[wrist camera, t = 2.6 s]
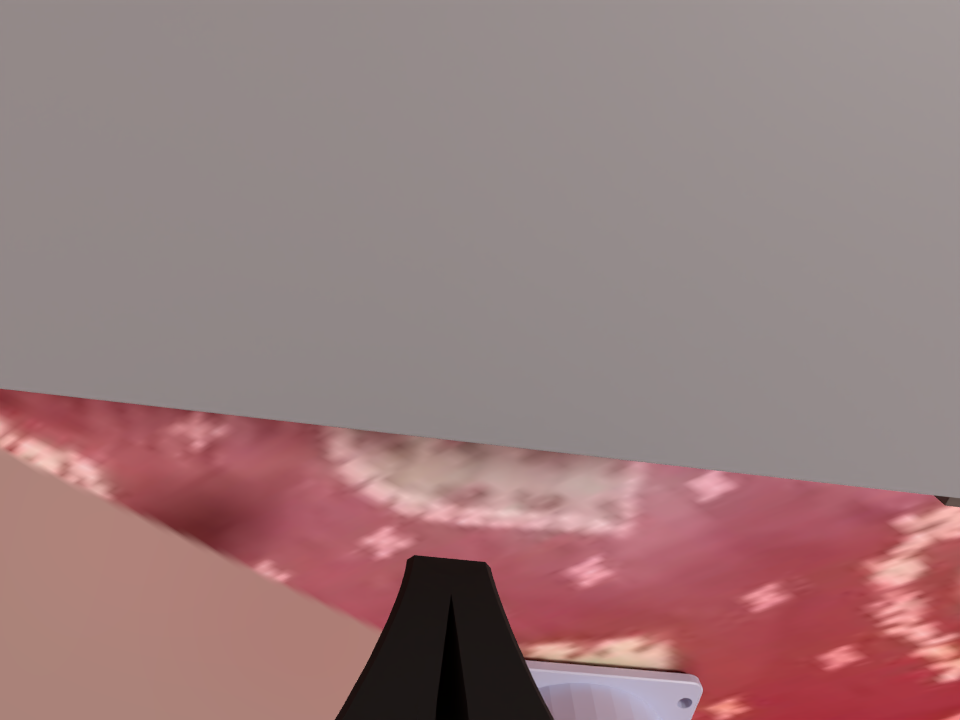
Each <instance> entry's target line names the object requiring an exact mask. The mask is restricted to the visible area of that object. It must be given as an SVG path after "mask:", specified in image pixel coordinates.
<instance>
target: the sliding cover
mask: <svg viewBox="0 0 960 720" xmlns="http://www.w3.org/2000/svg"><path fill="white" fill-rule="evenodd" d="M0 389H8V390H17V391H26V392H35V393H43V394H52V395H61V396H70V397H78V398H87V399H96V400H105V401H113V402H122V403H131V404H140V405H148V406H157V407H166V408H175V409H183V410H192V411H201V412H210V413H218V414H227V415H236V416H245V417H253V418H262V419H271V420H280V421H288V422H297V423H306V424H315V425H323V426H332V427H341V428H350V429H358V430H367V431H376V432H385V433H393V434H402V435H411V436H420V437H428V438H437V439H446V440H455V441H463V442H472V443H481V444H490V445H498V446H507V447H516V448H525V449H533V450H542V451H551V452H560V453H568V454H577V455H586V456H595V457H603V458H612V459H621V460H630V461H638V462H647V463H656V464H665V465H673V466H682V467H691V468H700V469H708V470H717V471H726V472H735V473H743V474H752V475H761V476H770V477H778V478H787V479H796V480H805V481H813V482H822V483H831V484H840V485H848V486H857V487H866V488H875V489H883V490H892V491H901V492H910V493H918V494H927V495H936V496H945V497H953V498H960V0H0Z"/></svg>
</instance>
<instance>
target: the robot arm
mask: <svg viewBox="0 0 960 720" xmlns="http://www.w3.org/2000/svg"><path fill="white" fill-rule="evenodd" d="M702 692H703V688H702V686H701V683H700V681H699V679H698V678H697V677H696V676H695V675H691V674H683V673H671V672H659V671H648V670H636V669H624V668H612V667H600V666H588V665H577V664H565V663H553V662H541V661H529V660H525V659H524V657H523V655H522V653H521V650H520V648H519V646H518V644H517V641H516V639H515V636H514V634H513V632H512V629H511V627H510V624H509V622H508V619H507V616H506V614H505V611H504V609H503V606H502V603H501V600H500V598H499V595H498V592H497V589H496V585H495V582H494V579H493V576H492V572H491V568H490V567H489V566H488V565H487V563H486V562H478V561H468V560H458V559H447V558H437V557H427V556H417V555H414V556H413V557H411V558H409V559H408V560H407V563H406V569H405V574H404V577H403V581H402V584H401V587H400V590H399V593H398V596H397V598H396V601H395V603H394V606H393V608H392V611H391V613H390V616H389V618H388V620H387V623H386V625H385V627H384V629H383V631H382V633H381V635H380V637H379V640H378V642H377V644H376V646H375V648H374V650H373V652H372V654H371V656H370V658H369V660H368V662H367V664H366V666H365V668H364V669H363V671H362V673H361V675H360V677H359V679H358V680H357V682H356V684H355V686H354V687H353V689H352V691H351V693H350V695H349V696H348V698H347V700H346V702H345V704H344V705H343V707H342V709H341V710H340V712H339V714H338V715H337V717H336V719H335V720H691V718H692V716H693V714H694V711H695V709H696V707H697V704H698V702H699V700H700V697H701V695H702Z"/></svg>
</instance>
